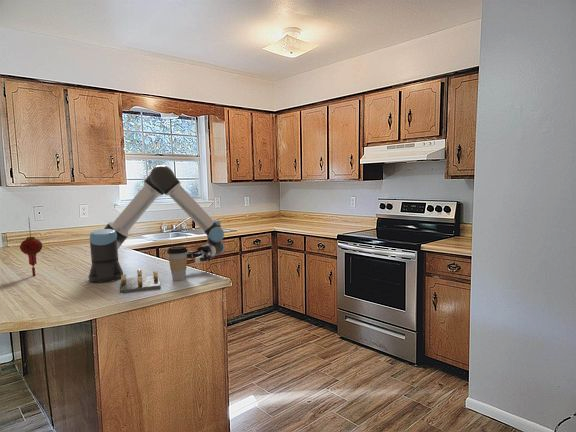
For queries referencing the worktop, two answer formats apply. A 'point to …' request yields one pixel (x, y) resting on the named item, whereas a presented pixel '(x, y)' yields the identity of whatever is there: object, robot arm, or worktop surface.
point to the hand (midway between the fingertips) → (183, 260)
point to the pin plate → (137, 288)
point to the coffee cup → (178, 262)
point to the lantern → (31, 249)
